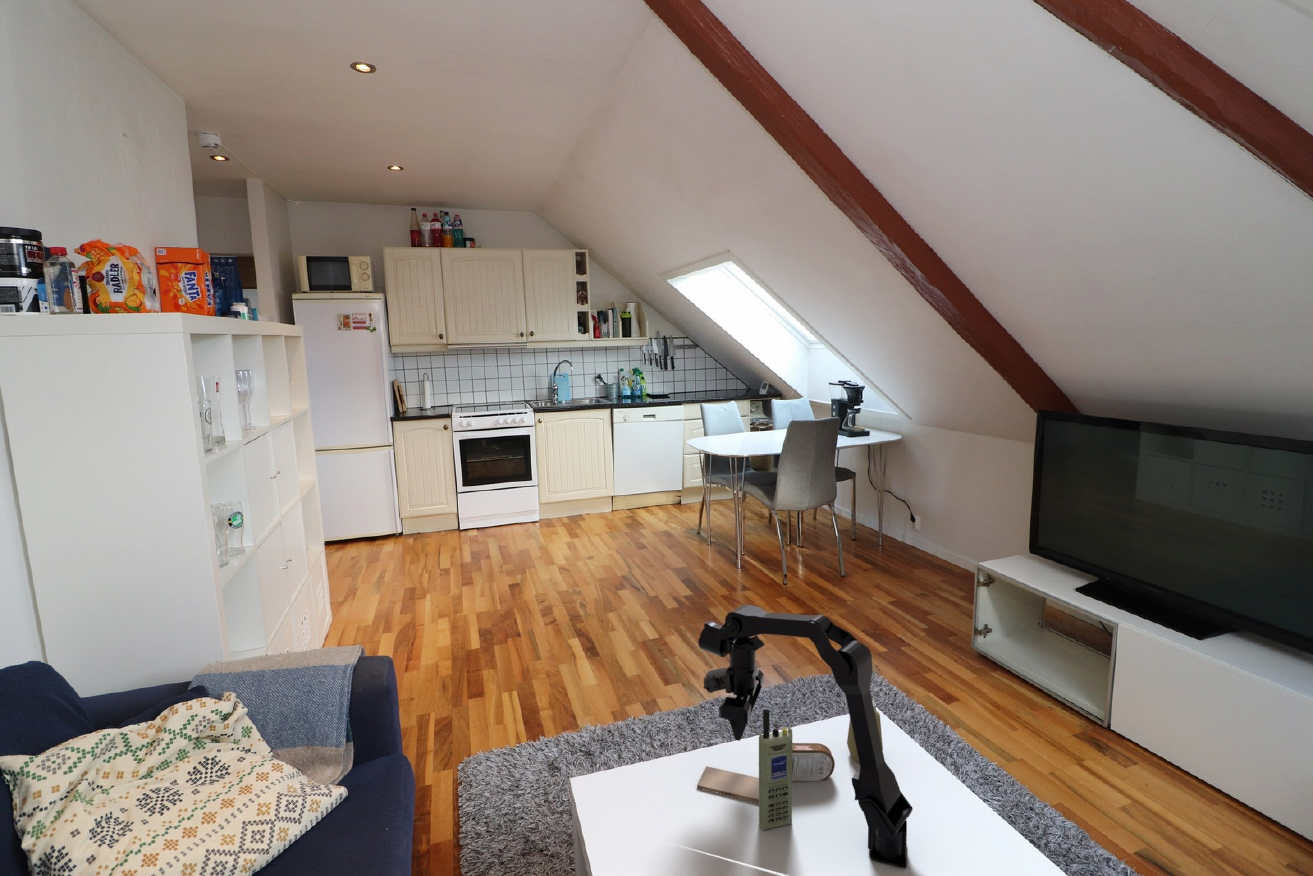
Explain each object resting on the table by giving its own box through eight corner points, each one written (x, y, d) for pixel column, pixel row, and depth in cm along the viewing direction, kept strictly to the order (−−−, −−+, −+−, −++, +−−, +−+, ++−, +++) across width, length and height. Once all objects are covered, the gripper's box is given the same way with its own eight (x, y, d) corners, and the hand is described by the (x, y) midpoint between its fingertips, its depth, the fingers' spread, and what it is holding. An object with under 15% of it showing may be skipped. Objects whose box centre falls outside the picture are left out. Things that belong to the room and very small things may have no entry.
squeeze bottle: (887, 771, 145) (889, 696, 143) (852, 771, 145) (853, 697, 143) (875, 749, 153) (877, 679, 151) (842, 750, 153) (843, 679, 151)
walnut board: (775, 786, 140) (775, 781, 140) (768, 807, 134) (768, 801, 134) (706, 771, 146) (706, 766, 146) (697, 790, 140) (696, 785, 140)
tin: (830, 775, 144) (832, 741, 143) (835, 784, 141) (837, 749, 140) (765, 776, 143) (767, 741, 142) (768, 785, 140) (770, 749, 139)
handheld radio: (763, 833, 126) (763, 716, 124) (757, 822, 130) (756, 707, 127) (794, 826, 128) (794, 710, 125) (786, 815, 131) (787, 702, 129)
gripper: (718, 640, 152) (718, 701, 153) (695, 676, 134) (696, 745, 136) (764, 646, 148) (763, 709, 149) (747, 685, 130) (747, 755, 132)
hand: (742, 728), depth 142 cm, fingers open, 9 cm apart
